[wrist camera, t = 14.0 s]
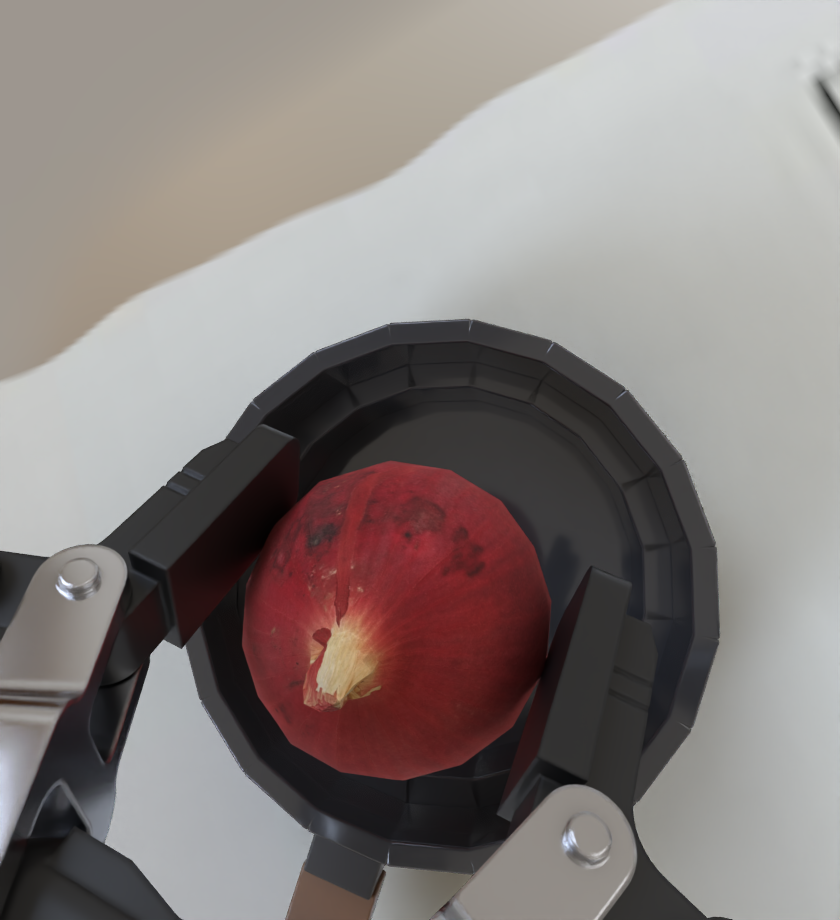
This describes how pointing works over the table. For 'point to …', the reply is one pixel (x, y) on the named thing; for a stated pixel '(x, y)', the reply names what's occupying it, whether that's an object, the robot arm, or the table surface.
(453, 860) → the pan
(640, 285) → the table surface
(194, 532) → the robot arm
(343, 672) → the onion
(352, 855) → the pan handle
